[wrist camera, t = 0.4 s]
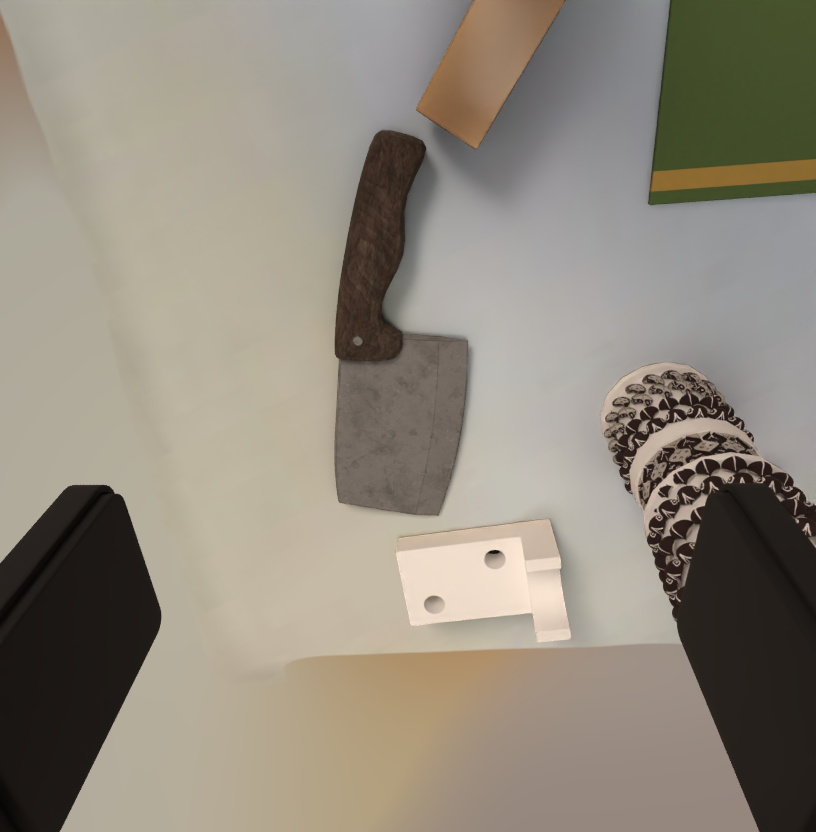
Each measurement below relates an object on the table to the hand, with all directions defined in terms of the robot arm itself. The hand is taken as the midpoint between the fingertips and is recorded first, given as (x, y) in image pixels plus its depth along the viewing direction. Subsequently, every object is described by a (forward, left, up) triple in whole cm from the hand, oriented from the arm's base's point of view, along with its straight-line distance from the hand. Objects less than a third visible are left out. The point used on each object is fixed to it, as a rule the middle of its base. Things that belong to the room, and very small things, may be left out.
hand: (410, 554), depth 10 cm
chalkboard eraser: (-4, +9, -34) cm, 35 cm away
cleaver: (+8, -9, -34) cm, 36 cm away
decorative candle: (+24, +3, -34) cm, 41 cm away
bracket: (+27, -16, -34) cm, 46 cm away
